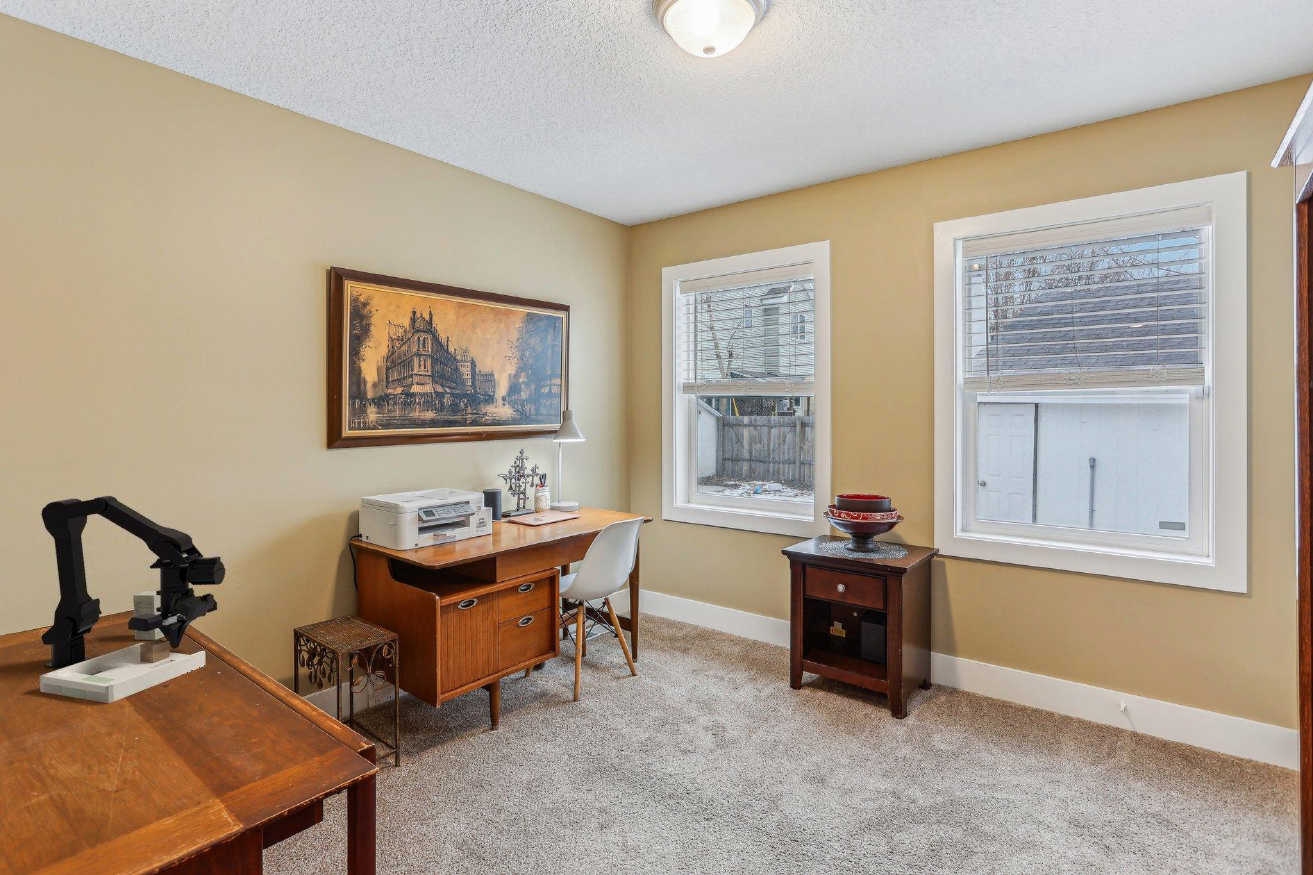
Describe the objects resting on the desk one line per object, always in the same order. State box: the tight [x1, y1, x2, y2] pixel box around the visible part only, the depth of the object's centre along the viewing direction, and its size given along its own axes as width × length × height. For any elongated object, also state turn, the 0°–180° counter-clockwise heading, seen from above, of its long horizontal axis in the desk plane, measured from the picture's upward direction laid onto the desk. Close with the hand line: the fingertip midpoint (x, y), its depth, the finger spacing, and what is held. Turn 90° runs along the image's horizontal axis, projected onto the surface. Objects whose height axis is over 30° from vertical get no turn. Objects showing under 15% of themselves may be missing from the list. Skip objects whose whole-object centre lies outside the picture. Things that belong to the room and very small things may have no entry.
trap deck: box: [39, 642, 206, 704], centre depth 152 cm, size 20×22×4 cm
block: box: [140, 638, 171, 663], centre depth 158 cm, size 4×4×4 cm
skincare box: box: [132, 590, 165, 641], centre depth 179 cm, size 6×4×12 cm
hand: (175, 648), depth 163 cm, fingers closed
